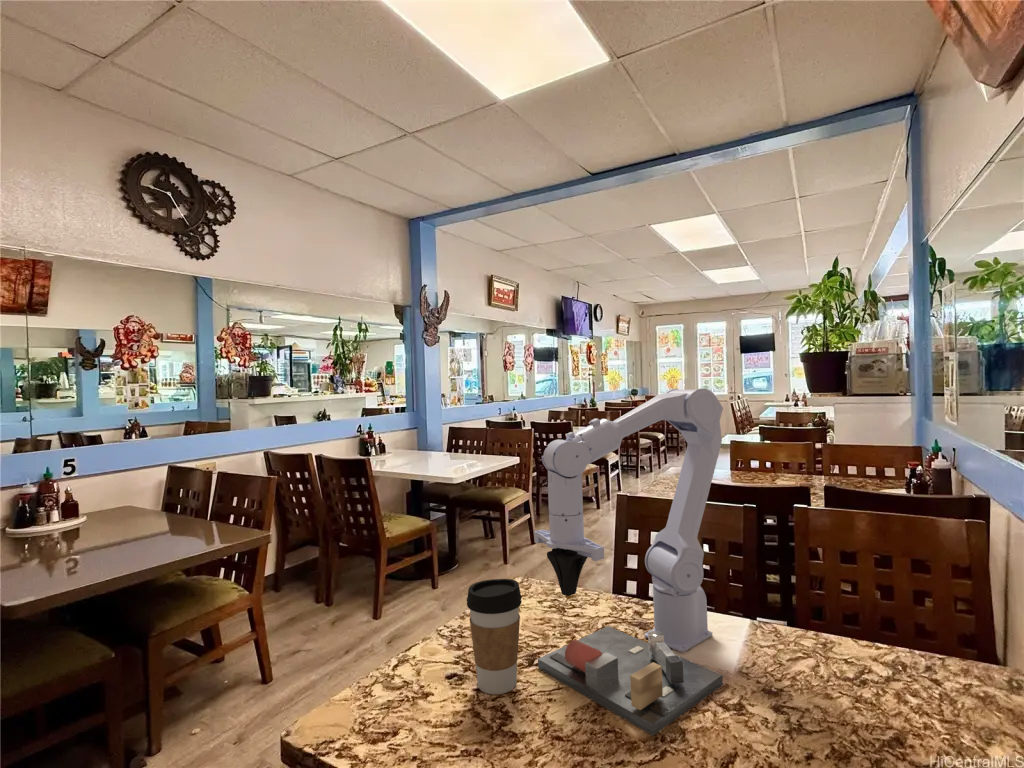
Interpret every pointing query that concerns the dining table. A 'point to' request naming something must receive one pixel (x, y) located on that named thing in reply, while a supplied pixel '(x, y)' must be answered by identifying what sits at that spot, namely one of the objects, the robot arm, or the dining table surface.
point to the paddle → (646, 685)
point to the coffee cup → (495, 633)
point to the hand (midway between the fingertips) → (568, 593)
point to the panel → (613, 682)
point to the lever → (665, 657)
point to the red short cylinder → (580, 654)
